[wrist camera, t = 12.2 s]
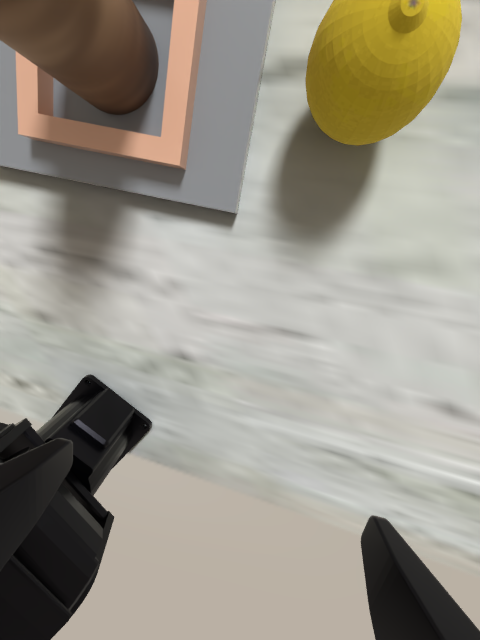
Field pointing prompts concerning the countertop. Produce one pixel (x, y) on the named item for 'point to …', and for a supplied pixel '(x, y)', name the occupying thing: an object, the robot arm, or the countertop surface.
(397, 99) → the lemon
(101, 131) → the display stand
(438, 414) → the countertop surface
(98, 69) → the pepper mill
